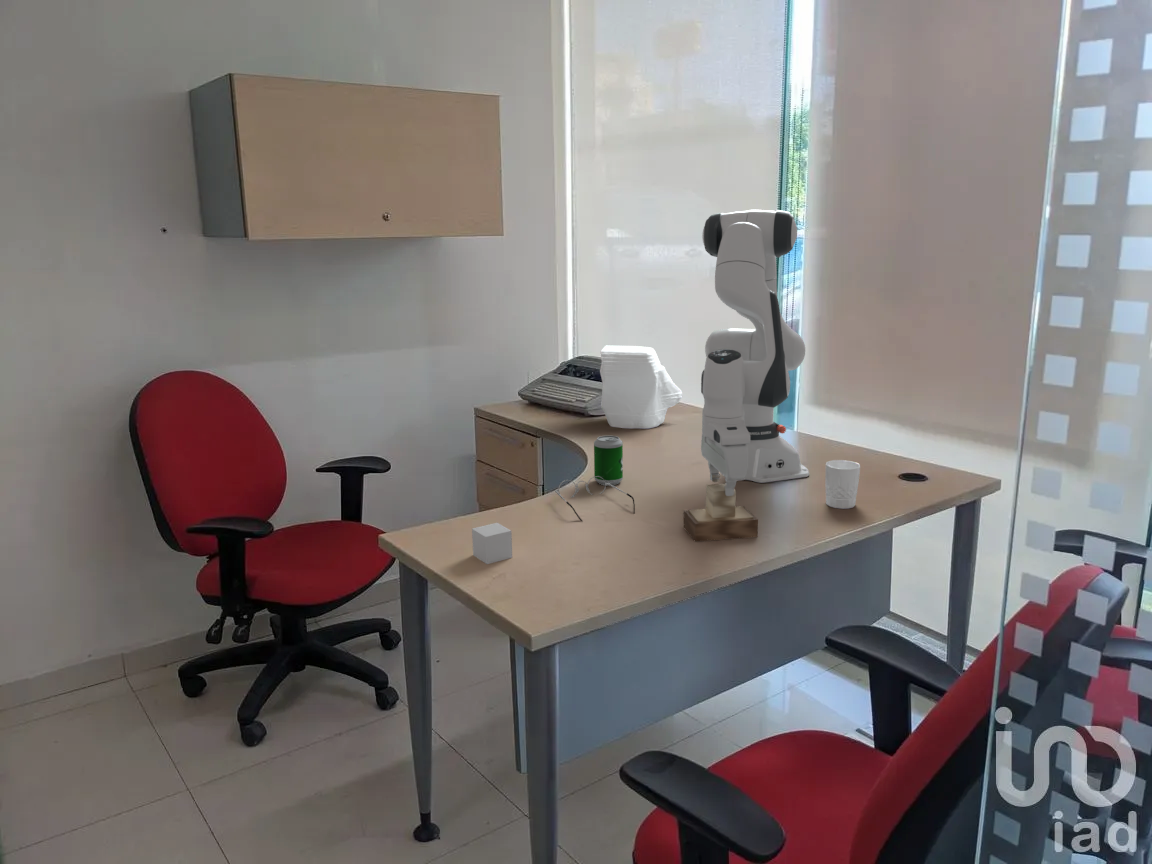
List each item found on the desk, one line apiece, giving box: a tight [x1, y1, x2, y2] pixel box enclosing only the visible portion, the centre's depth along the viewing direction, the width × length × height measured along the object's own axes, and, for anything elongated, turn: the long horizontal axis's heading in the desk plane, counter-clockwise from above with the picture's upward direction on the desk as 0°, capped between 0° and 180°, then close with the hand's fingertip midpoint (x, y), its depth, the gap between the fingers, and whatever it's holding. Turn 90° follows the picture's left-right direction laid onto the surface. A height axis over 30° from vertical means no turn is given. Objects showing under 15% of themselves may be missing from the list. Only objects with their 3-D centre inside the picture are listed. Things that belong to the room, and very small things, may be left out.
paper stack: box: [599, 344, 683, 430], centre depth 283 cm, size 21×27×26 cm
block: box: [705, 482, 737, 518], centre depth 187 cm, size 5×5×6 cm
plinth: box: [683, 505, 759, 543], centre depth 188 cm, size 14×9×4 cm, turn 99°
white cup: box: [824, 459, 861, 510], centre depth 204 cm, size 8×8×10 cm
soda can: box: [593, 435, 624, 487], centre depth 224 cm, size 8×8×12 cm
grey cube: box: [471, 522, 513, 565], centre depth 176 cm, size 6×6×6 cm
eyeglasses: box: [554, 476, 636, 522], centre depth 207 cm, size 16×19×5 cm
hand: (721, 487), depth 186 cm, fingers open, 8 cm apart
